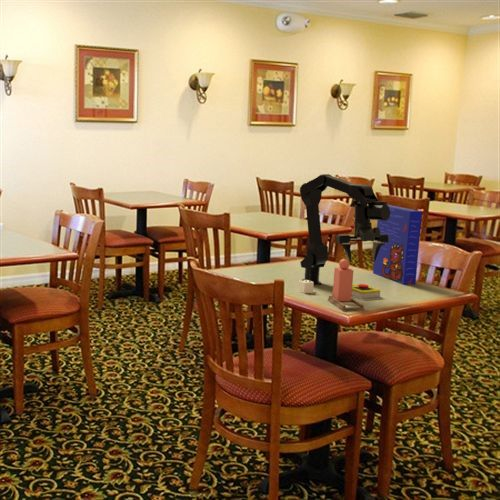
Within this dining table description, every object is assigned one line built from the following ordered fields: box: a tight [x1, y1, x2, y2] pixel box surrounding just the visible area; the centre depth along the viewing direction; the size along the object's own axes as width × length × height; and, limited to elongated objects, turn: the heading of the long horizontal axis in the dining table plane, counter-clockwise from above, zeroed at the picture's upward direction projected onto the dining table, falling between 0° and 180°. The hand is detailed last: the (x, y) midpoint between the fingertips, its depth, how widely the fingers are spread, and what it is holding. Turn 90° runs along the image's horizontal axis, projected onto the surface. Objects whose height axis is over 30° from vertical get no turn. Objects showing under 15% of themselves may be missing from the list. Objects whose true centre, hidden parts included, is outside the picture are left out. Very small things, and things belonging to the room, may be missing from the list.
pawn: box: [331, 258, 354, 301], centre depth 234 cm, size 5×5×15 cm
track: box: [327, 295, 365, 312], centre depth 232 cm, size 14×8×2 cm, turn 15°
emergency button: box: [351, 283, 383, 301], centre depth 249 cm, size 9×4×15 cm
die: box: [297, 279, 315, 294], centre depth 249 cm, size 4×4×4 cm
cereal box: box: [372, 204, 423, 286], centre depth 278 cm, size 22×6×30 cm, turn 23°
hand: (362, 261), depth 246 cm, fingers open, 9 cm apart
